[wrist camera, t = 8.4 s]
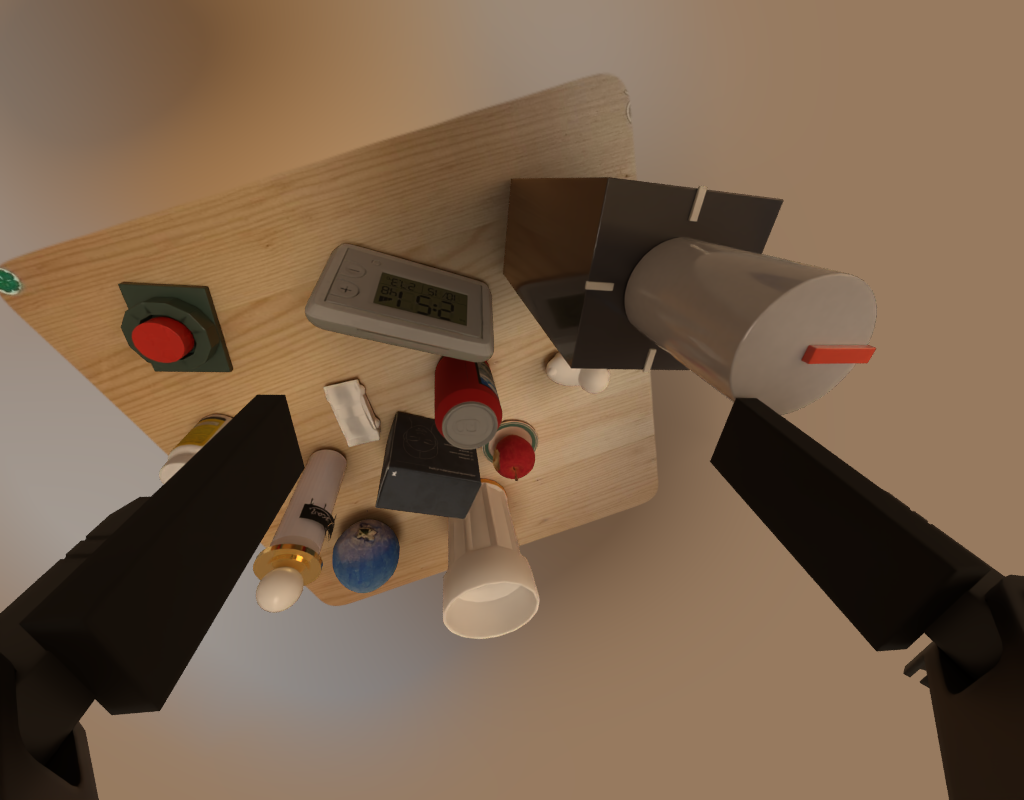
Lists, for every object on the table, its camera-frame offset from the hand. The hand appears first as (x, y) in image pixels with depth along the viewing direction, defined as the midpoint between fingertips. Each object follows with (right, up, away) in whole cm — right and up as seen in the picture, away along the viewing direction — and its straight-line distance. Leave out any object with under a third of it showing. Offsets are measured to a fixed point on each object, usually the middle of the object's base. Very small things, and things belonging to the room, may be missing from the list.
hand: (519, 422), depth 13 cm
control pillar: (+4, +18, +26) cm, 32 cm away
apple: (-1, -5, +40) cm, 40 cm away
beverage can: (-6, +4, +33) cm, 34 cm away
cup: (-6, -15, +45) cm, 47 cm away
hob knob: (+8, +6, +6) cm, 12 cm away
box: (-11, -4, +37) cm, 39 cm away
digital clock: (-11, +13, +27) cm, 32 cm away
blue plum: (-22, -18, +43) cm, 52 cm away
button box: (-34, +8, +25) cm, 43 cm away
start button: (-33, +7, +23) cm, 41 cm away
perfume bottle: (-24, -7, +36) cm, 44 cm away
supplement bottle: (-35, -3, +31) cm, 47 cm away
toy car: (-20, 0, +33) cm, 38 cm away
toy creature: (+7, +6, +35) cm, 36 cm away
